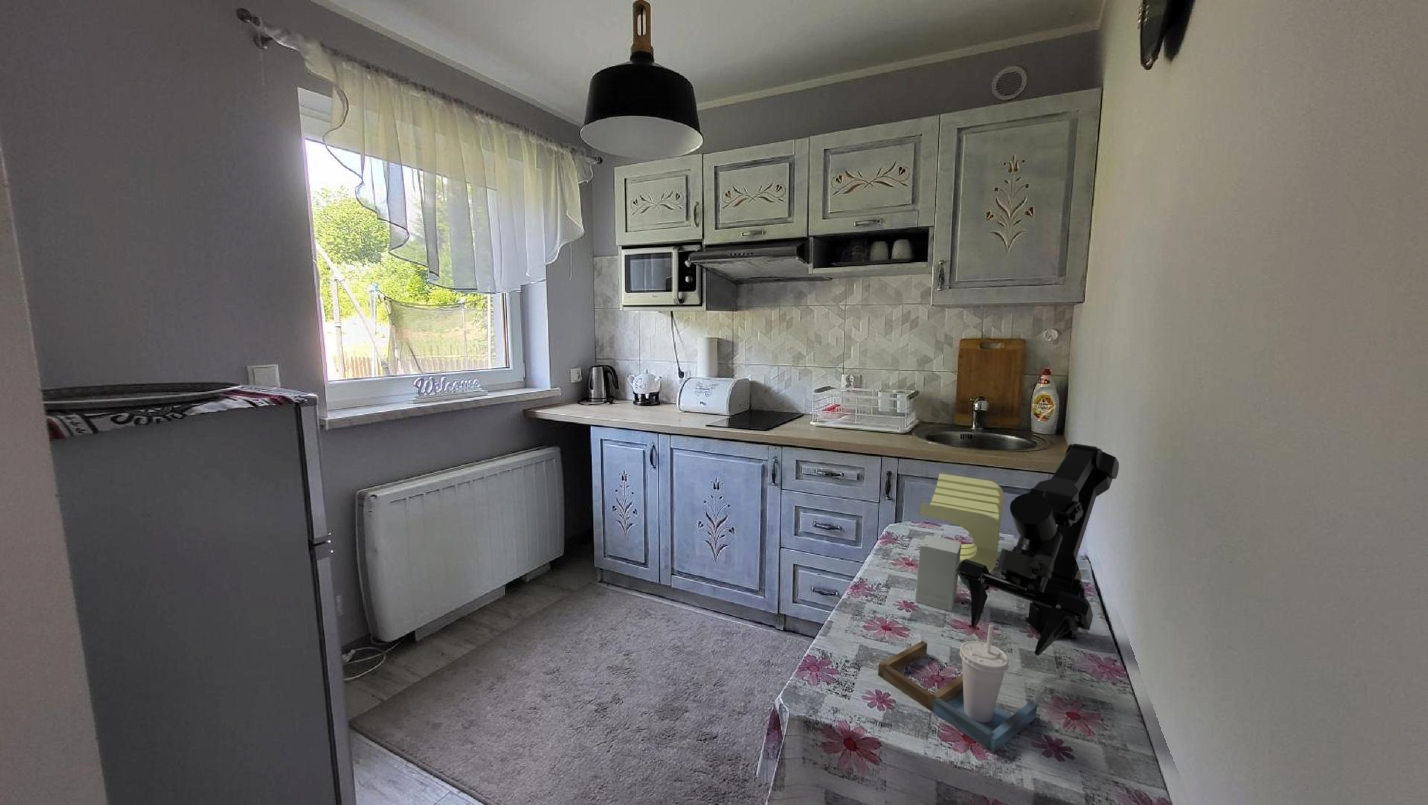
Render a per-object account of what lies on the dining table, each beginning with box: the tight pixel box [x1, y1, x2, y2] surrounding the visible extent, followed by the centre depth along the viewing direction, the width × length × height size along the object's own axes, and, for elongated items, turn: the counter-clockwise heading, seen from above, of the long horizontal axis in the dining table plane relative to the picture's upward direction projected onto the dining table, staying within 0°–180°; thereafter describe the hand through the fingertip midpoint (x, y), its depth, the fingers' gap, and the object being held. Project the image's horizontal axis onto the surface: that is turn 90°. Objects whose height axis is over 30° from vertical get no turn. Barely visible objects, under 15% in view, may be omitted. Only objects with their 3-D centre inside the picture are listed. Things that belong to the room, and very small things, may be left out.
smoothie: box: [959, 624, 1010, 722], centre depth 76 cm, size 6×6×14 cm
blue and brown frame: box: [877, 640, 1038, 754], centre depth 81 cm, size 12×19×2 cm, turn 35°
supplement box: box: [914, 534, 963, 612], centre depth 110 cm, size 7×7×13 cm
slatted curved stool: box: [919, 473, 1004, 573], centre depth 129 cm, size 30×16×18 cm, turn 149°
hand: (1003, 640), depth 81 cm, fingers open, 9 cm apart
